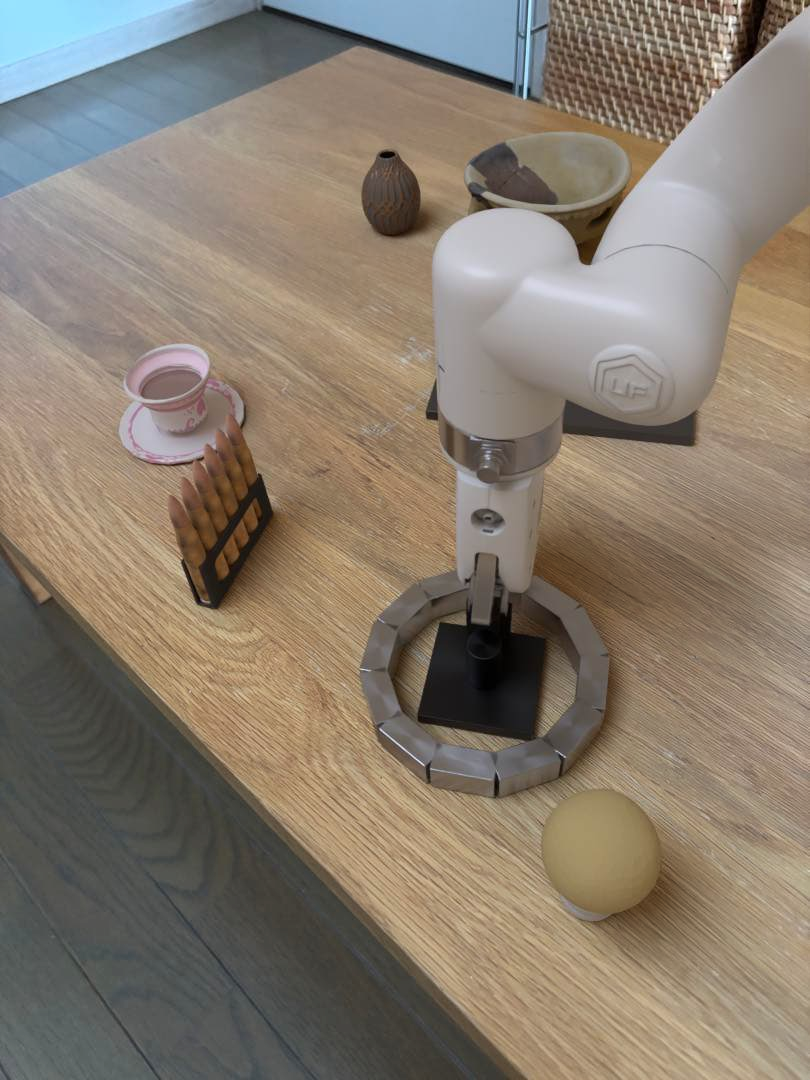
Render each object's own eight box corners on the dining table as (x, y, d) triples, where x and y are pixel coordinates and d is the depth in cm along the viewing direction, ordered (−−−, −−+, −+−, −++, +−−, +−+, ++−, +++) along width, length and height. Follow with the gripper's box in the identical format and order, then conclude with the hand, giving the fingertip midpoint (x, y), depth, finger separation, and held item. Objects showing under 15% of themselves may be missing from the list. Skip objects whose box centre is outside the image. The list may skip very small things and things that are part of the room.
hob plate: (694, 312, 89) (696, 303, 88) (691, 446, 76) (693, 437, 75) (464, 295, 93) (464, 286, 92) (426, 418, 81) (425, 410, 80)
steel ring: (612, 604, 66) (616, 584, 64) (592, 817, 55) (597, 800, 53) (396, 574, 69) (393, 554, 67) (338, 769, 59) (333, 751, 57)
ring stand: (546, 644, 64) (550, 605, 60) (531, 741, 59) (535, 705, 55) (440, 628, 65) (437, 589, 62) (417, 722, 60) (413, 685, 57)
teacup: (207, 478, 78) (190, 426, 73) (96, 451, 81) (72, 401, 76) (266, 394, 85) (253, 342, 80) (161, 373, 88) (143, 322, 83)
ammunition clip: (255, 508, 75) (223, 402, 66) (274, 513, 74) (245, 407, 65) (195, 604, 68) (151, 502, 59) (216, 610, 68) (174, 507, 59)
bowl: (616, 203, 103) (626, 122, 96) (625, 289, 92) (638, 205, 85) (469, 204, 105) (468, 125, 98) (460, 289, 94) (458, 207, 87)
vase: (422, 240, 101) (417, 167, 94) (363, 243, 101) (355, 170, 95) (422, 209, 105) (418, 137, 99) (366, 212, 106) (358, 141, 99)
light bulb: (569, 968, 50) (585, 913, 42) (516, 866, 54) (522, 799, 46) (663, 919, 51) (695, 857, 43) (605, 824, 55) (625, 752, 47)
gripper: (547, 535, 46) (531, 703, 60) (575, 338, 57) (556, 519, 70) (410, 519, 47) (425, 687, 61) (462, 329, 58) (465, 508, 72)
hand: (495, 595), depth 66 cm, fingers open, 6 cm apart
